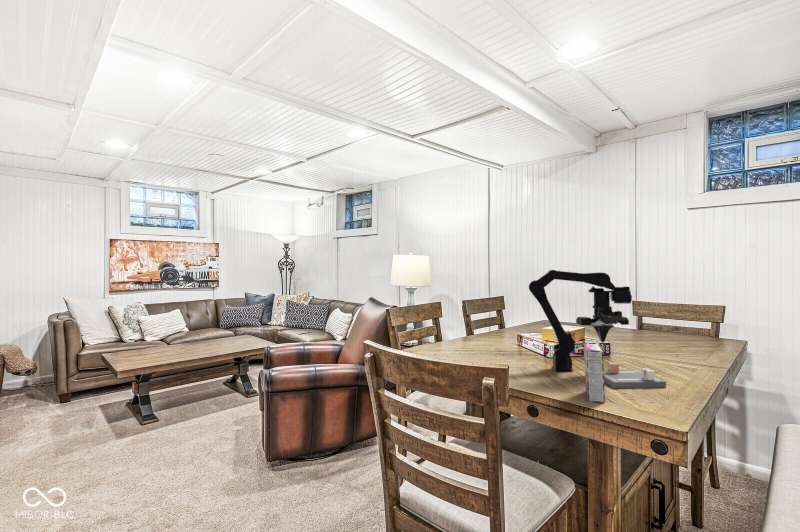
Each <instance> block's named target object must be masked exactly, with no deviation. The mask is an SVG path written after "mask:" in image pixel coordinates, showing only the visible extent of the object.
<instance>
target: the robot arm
mask: <svg viewBox="0 0 800 532" xmlns="http://www.w3.org/2000/svg"><path fill="white" fill-rule="evenodd" d="M554 280H559V281H567V282H568V281H569V282H578V283H584V284H585V283H586V284H587V285H588V284H589V285H592V286H591V287H590V289H588V290H587V291H588V292H589V293H593V305H592V309H593V315H592V317H588V316H577V317H576V319H575V320H576V321H575V323H576V324H577V325H580V326H591V327H593V329H594V330H595V332H596V334H597V336H598V339H599V341H600V342H601V343H605V341H606V338H607V336H608V333H609V331H610V330H611V329H612V328H614V327H615V325H617V324H618V323H619V324H620V325H621V326H623V325H624V326H627V325H630V319H629V318H628V317H625V316H623V312H622V311H620V310H615V311H613V310H612V309H613V308H612V306H610V304H611V302H613V304H619V305H621V304H624V305H625V304H626V305H628V304H629V305H630V304H631V303H632V297H633V296H632V293H631V289H630V286H615V285H614V283H613V282H612V281H611V277H610V275H609V274H608V273H606V272H589V273H588V272H587V273H584V272H583V273H582V272H573V271H562V270H555V269H550V270H548V271H547V273H545V274H544V275H542V276H541V277H539V278H538V279H536V280H535V279H534V280H532V281H531V282H529V285H528V289H529V291H530V293H531V294H532V296H533V297H534V298H535V299H536V301H537V302H538V303H539V305H540V307H541V309H542V312H544V315H545V316H546V318H547V320H548V321H549V324H550V326H551V327H552V329H553V331H554V334H555V337H556V341H557V344H556V345H554V346H553V347H552V349H553V352H554V353H553V354H552V366H551V369H552V370H554V371H555V372H560V373H561V372H563V373H564V372H573V359H572V358H571V353H573V351H574V350H575V349H576V344H575V343H576V341H575V339H574V338H573V335H572V334H571V332H570V331H569V330H568V331H565V330H564V327H563V326H562V323H561V322H560V320H559V318H558V316H557V314H556V313H555V311H554V309H553V307H552V305H551V304H550V302H549V299H548V296H547V293H546V289H545V287H547V286H548V285H549V284H551V282H553V281H554ZM595 286H597V287H599V288H597V287H595ZM604 289H607V290H604ZM613 324H614V325H613Z"/></svg>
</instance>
